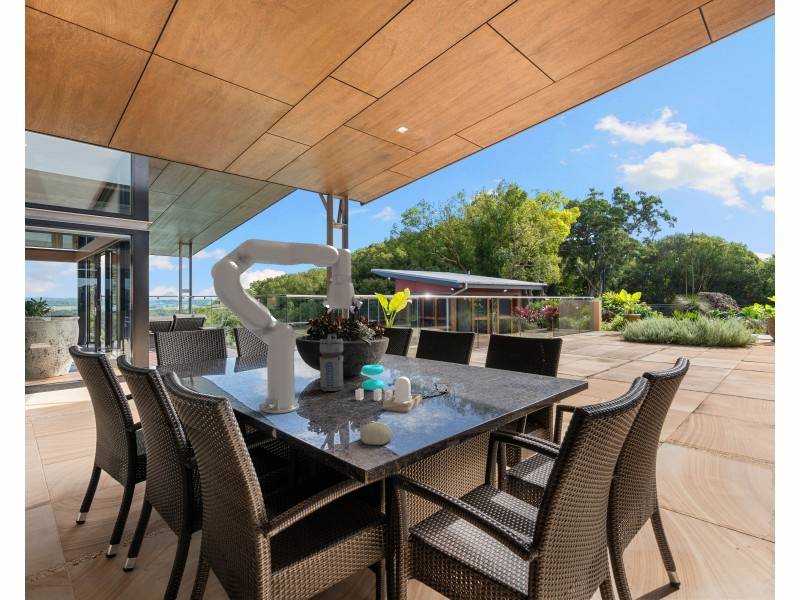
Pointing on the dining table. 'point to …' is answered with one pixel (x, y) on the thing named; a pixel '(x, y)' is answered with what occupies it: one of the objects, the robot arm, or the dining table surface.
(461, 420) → the dining table surface
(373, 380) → the donuts
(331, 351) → the beverage bottle
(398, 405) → the tan shallow tray
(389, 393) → the cable clips
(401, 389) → the cable organizer
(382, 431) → the sea urchin shell
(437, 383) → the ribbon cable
